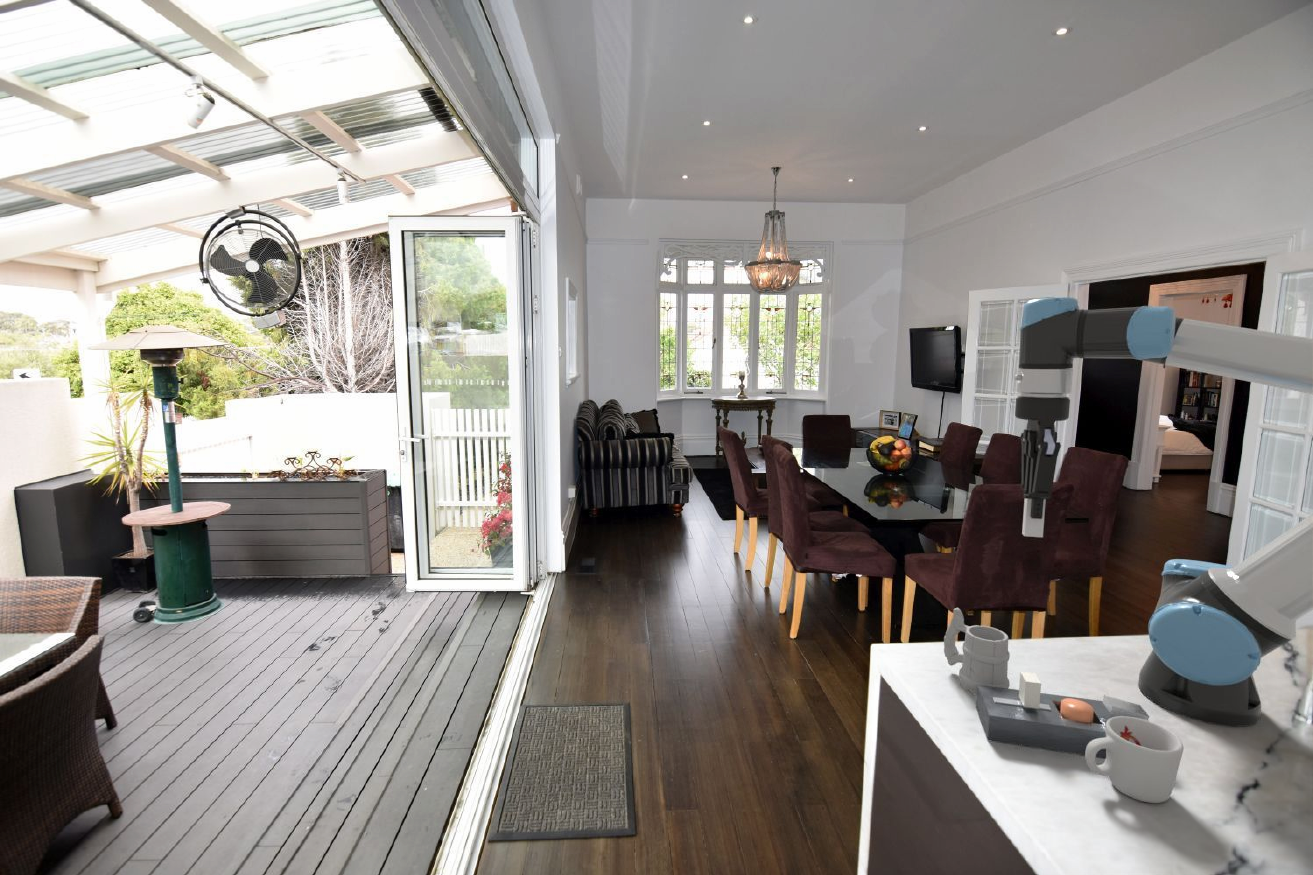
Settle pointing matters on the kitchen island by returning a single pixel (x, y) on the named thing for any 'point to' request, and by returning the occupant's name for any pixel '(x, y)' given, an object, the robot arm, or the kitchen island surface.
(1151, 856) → the kitchen island surface
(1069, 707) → the button
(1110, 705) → the rocker
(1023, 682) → the slider
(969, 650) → the mug
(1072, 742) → the console
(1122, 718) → the cup
